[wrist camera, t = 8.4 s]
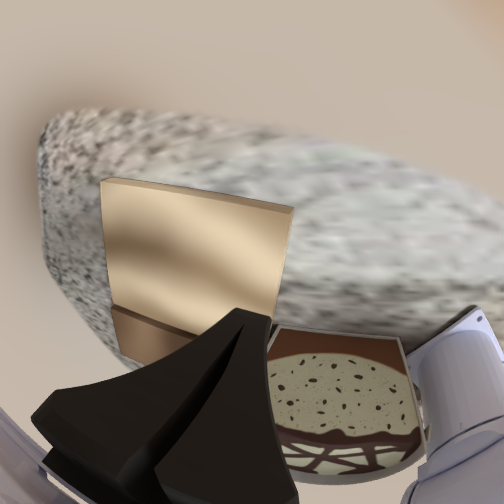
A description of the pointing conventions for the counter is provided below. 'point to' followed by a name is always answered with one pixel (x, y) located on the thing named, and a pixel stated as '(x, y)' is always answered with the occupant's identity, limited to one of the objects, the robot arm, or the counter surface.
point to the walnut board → (146, 336)
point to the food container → (343, 405)
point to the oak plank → (191, 252)
